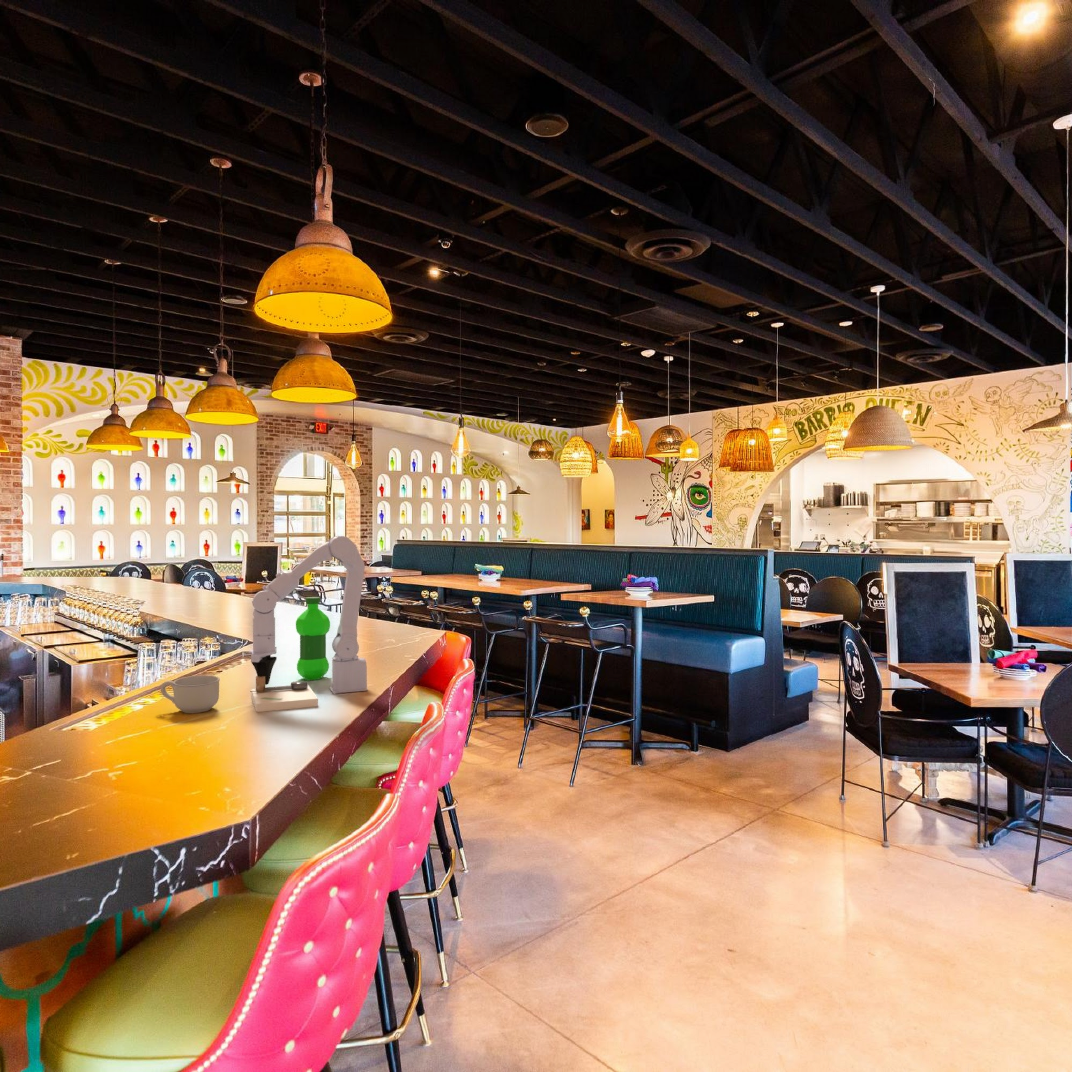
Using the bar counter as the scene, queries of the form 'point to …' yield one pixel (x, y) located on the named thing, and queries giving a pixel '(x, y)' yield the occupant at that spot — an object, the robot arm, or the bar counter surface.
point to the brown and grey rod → (294, 685)
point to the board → (283, 699)
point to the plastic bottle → (312, 641)
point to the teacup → (193, 693)
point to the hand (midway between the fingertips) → (264, 684)
